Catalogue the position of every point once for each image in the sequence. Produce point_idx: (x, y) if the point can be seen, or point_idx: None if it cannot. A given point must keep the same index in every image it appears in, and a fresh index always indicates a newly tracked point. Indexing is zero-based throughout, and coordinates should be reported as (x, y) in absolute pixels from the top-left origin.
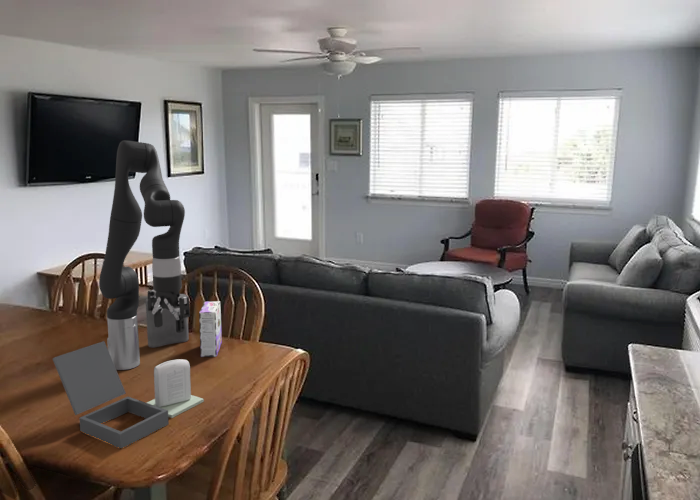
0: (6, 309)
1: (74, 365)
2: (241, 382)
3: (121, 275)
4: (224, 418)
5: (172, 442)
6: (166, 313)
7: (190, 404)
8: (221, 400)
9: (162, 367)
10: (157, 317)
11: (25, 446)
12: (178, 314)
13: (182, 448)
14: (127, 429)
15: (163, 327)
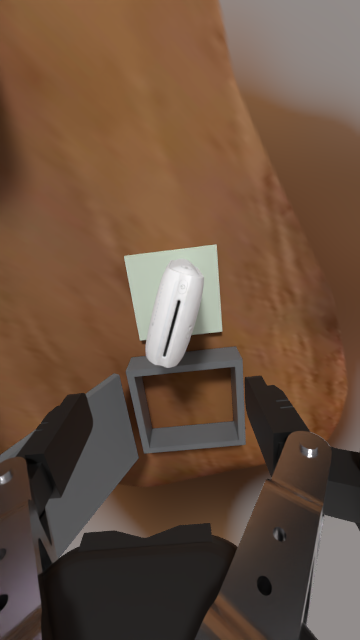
0: None
1: (59, 518)
2: (206, 90)
3: None
4: (308, 268)
5: (288, 375)
6: None
7: (214, 281)
8: (243, 213)
9: (177, 357)
10: (67, 469)
11: (131, 483)
12: (321, 524)
13: (316, 376)
14: (242, 432)
15: None
